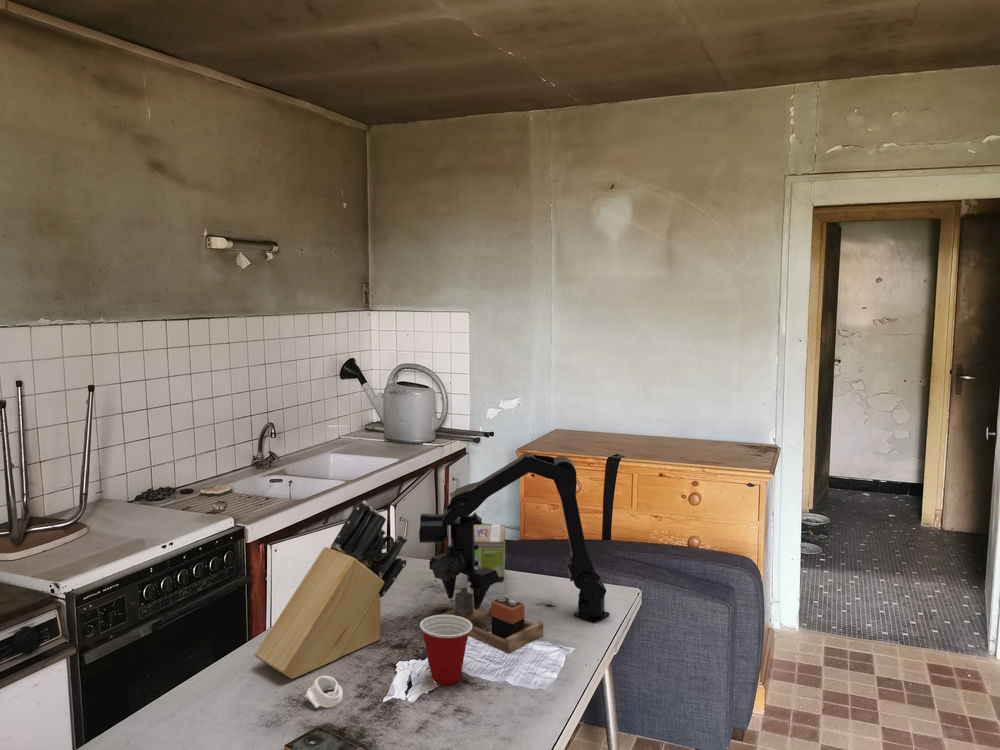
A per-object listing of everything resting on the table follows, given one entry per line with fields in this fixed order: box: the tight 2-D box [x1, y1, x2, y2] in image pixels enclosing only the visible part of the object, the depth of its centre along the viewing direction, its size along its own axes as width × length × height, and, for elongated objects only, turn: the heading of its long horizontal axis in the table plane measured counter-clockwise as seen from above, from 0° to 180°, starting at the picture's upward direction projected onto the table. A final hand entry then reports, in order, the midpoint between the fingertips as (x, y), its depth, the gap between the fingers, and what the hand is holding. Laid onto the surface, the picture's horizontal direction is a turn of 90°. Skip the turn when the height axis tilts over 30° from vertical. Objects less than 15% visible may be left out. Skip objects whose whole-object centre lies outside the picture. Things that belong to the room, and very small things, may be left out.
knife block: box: [254, 500, 408, 680], centre depth 169 cm, size 11×35×31 cm, turn 139°
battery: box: [490, 595, 525, 639], centre depth 172 cm, size 4×7×10 cm, turn 46°
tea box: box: [466, 523, 506, 595], centre depth 205 cm, size 15×10×15 cm
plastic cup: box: [419, 614, 473, 687], centre depth 156 cm, size 11×11×12 cm
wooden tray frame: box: [440, 590, 544, 654], centre depth 178 cm, size 12×24×6 cm, turn 46°
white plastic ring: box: [302, 675, 344, 709], centre depth 149 cm, size 8×7×5 cm
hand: (463, 603), depth 184 cm, fingers open, 9 cm apart
